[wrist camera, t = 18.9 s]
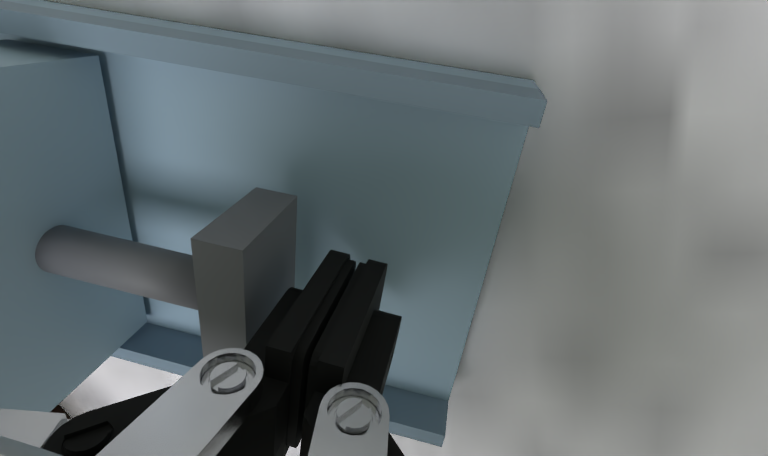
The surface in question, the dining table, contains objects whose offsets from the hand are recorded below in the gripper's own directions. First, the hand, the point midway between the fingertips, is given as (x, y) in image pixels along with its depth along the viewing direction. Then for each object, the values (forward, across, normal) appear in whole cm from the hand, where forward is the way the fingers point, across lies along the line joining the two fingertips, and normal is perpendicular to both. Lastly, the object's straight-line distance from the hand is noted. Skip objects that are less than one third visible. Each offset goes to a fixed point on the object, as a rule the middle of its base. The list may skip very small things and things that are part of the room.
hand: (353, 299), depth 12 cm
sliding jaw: (+2, +7, 0) cm, 7 cm away
